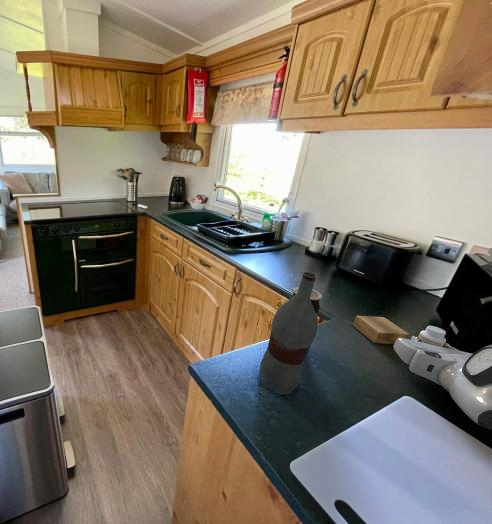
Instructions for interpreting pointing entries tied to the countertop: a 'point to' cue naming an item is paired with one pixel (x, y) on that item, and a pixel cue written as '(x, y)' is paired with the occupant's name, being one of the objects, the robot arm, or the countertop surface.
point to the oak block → (379, 329)
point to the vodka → (290, 340)
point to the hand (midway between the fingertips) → (428, 341)
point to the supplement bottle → (433, 336)
